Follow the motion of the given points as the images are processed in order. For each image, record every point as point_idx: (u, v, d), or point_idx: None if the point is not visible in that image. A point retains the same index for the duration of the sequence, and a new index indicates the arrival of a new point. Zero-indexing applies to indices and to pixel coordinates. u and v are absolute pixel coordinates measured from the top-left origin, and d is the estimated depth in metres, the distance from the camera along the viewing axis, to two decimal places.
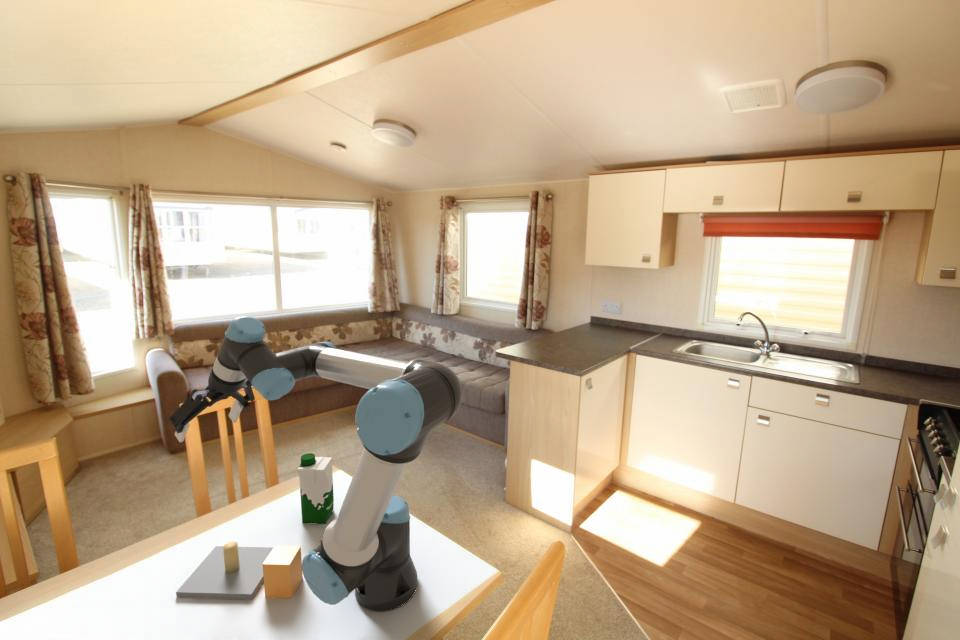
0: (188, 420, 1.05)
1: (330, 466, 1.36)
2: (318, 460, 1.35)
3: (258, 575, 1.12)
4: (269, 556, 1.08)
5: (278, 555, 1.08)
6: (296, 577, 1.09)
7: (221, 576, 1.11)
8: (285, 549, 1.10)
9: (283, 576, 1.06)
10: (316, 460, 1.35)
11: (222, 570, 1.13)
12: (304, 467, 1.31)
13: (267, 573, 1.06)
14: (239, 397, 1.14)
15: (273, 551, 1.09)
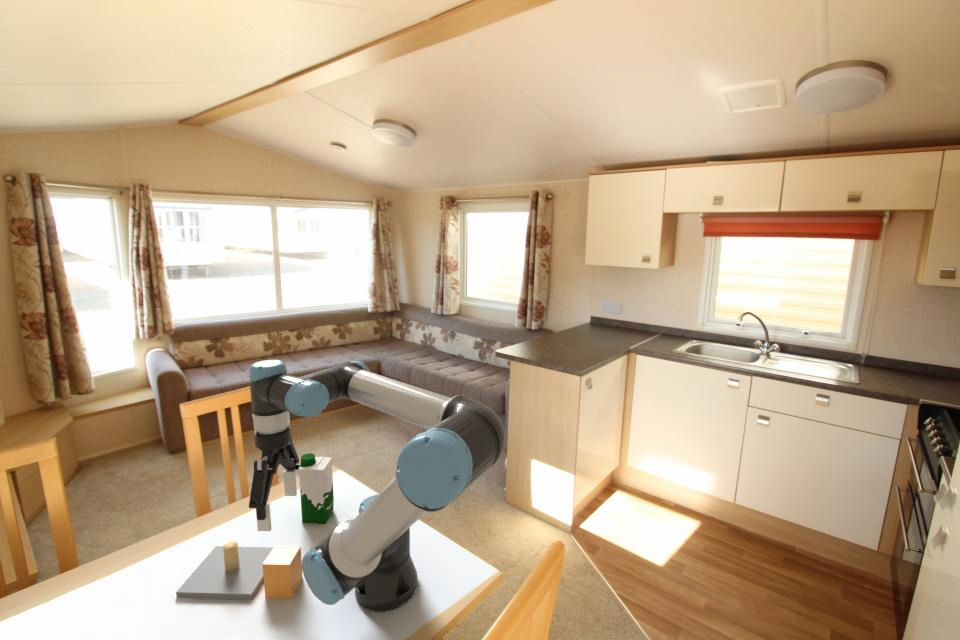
0: (266, 497, 0.98)
1: (330, 466, 1.36)
2: (318, 460, 1.35)
3: (258, 575, 1.12)
4: (269, 556, 1.08)
5: (278, 555, 1.08)
6: (296, 577, 1.09)
7: (221, 576, 1.11)
8: (285, 549, 1.10)
9: (283, 576, 1.06)
10: (316, 460, 1.35)
11: (222, 570, 1.13)
12: (304, 467, 1.31)
13: (267, 573, 1.06)
14: (289, 458, 1.09)
15: (273, 551, 1.09)
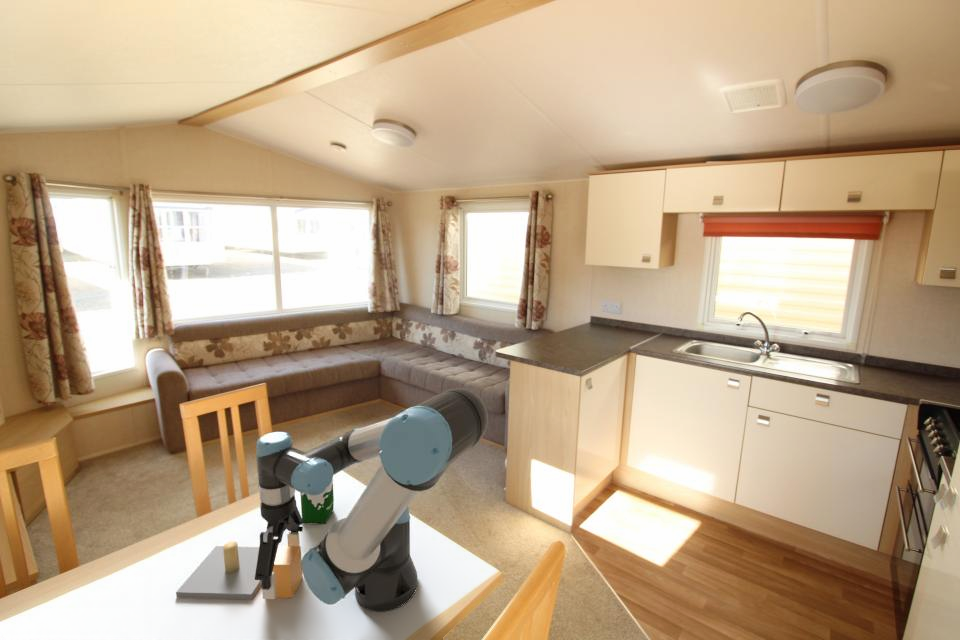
0: (272, 567, 1.01)
1: None
2: None
3: None
4: None
5: (278, 555, 1.08)
6: (296, 577, 1.09)
7: (221, 576, 1.11)
8: (285, 549, 1.10)
9: (283, 576, 1.06)
10: None
11: (222, 570, 1.13)
12: None
13: None
14: (293, 523, 1.12)
15: None
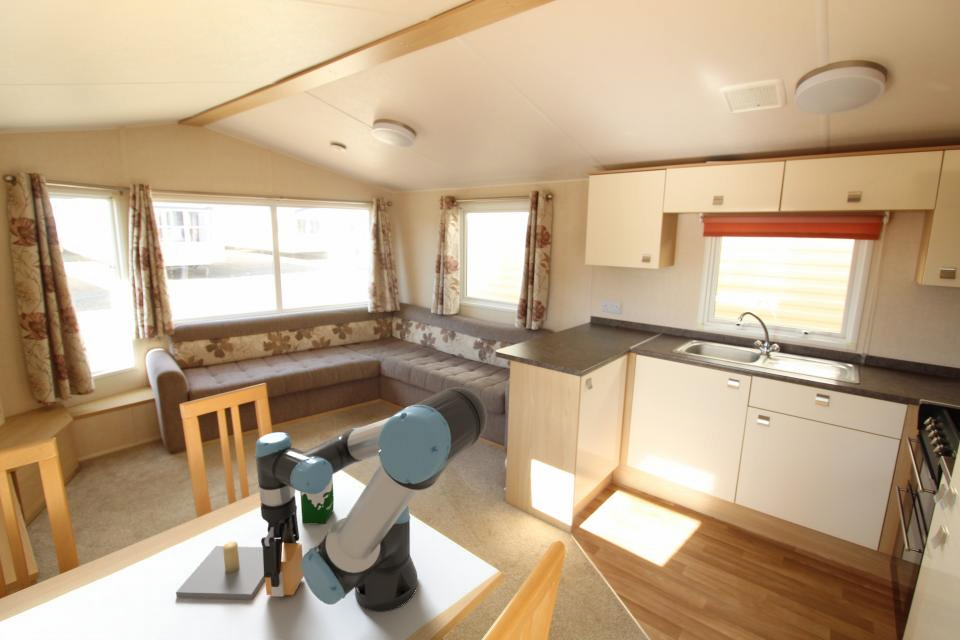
0: (279, 565, 1.04)
1: None
2: None
3: (258, 575, 1.12)
4: None
5: None
6: (297, 574, 1.09)
7: (221, 576, 1.11)
8: (286, 546, 1.10)
9: (284, 573, 1.05)
10: None
11: (222, 570, 1.13)
12: None
13: None
14: (292, 532, 1.10)
15: None
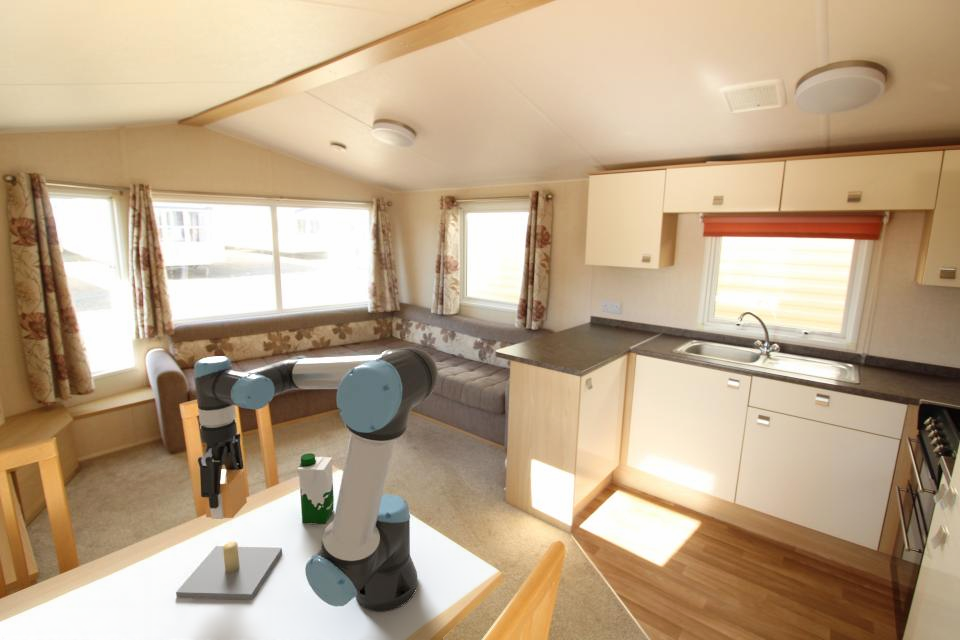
0: (218, 487, 1.05)
1: (330, 466, 1.36)
2: (318, 460, 1.35)
3: (258, 575, 1.12)
4: None
5: None
6: (238, 499, 1.10)
7: (221, 576, 1.11)
8: (228, 472, 1.11)
9: (223, 495, 1.06)
10: (316, 460, 1.35)
11: (222, 570, 1.13)
12: (304, 467, 1.31)
13: None
14: (234, 458, 1.12)
15: None
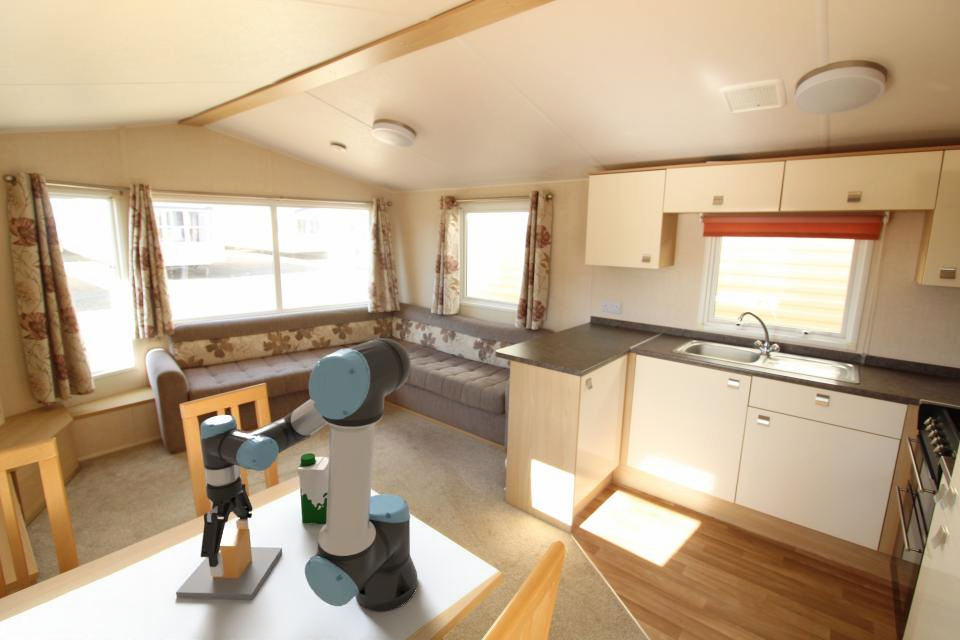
0: (218, 545, 1.05)
1: None
2: (318, 460, 1.35)
3: (258, 575, 1.12)
4: None
5: (226, 537, 1.12)
6: (244, 558, 1.13)
7: None
8: (234, 532, 1.14)
9: (230, 557, 1.09)
10: (316, 460, 1.35)
11: None
12: (304, 467, 1.31)
13: None
14: (241, 507, 1.15)
15: None
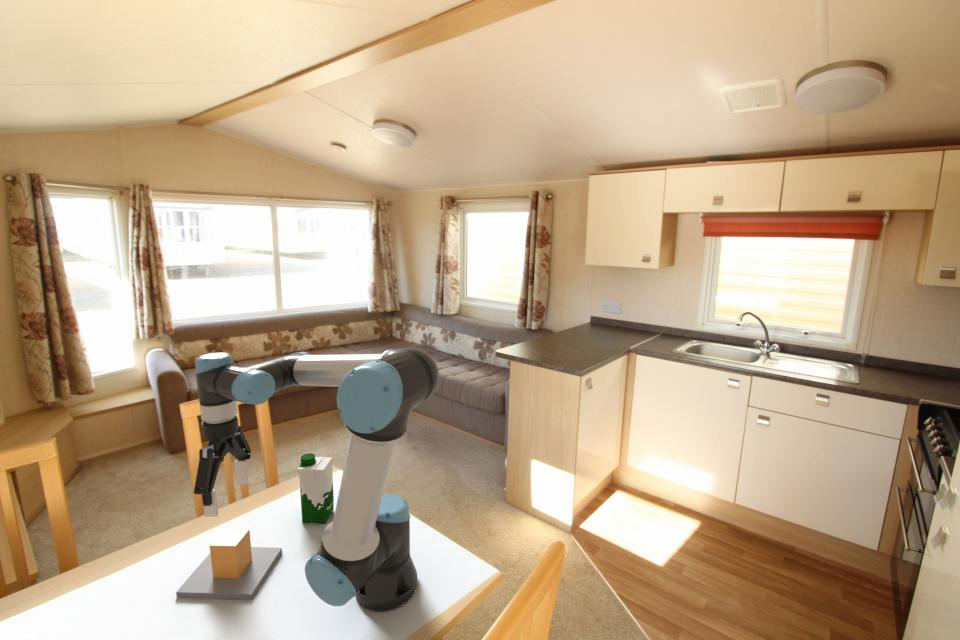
0: (212, 483, 1.02)
1: (330, 466, 1.36)
2: (318, 460, 1.35)
3: (258, 575, 1.12)
4: (217, 538, 1.11)
5: (226, 537, 1.12)
6: (244, 558, 1.13)
7: None
8: (234, 532, 1.14)
9: (230, 557, 1.09)
10: (316, 460, 1.35)
11: None
12: (304, 467, 1.31)
13: (214, 554, 1.09)
14: (239, 448, 1.13)
15: (222, 533, 1.13)
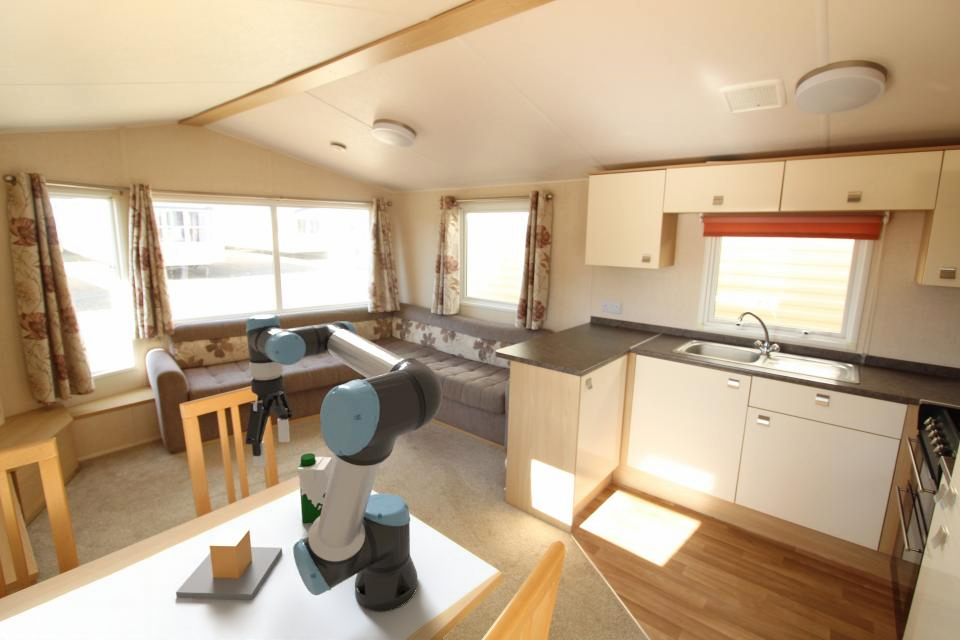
0: (261, 435, 1.09)
1: (330, 466, 1.36)
2: (318, 460, 1.35)
3: (258, 575, 1.12)
4: (217, 538, 1.11)
5: (226, 537, 1.12)
6: (244, 558, 1.13)
7: None
8: (234, 532, 1.14)
9: (230, 557, 1.09)
10: (316, 460, 1.35)
11: None
12: (304, 467, 1.31)
13: (214, 554, 1.09)
14: (282, 406, 1.20)
15: (222, 533, 1.13)
